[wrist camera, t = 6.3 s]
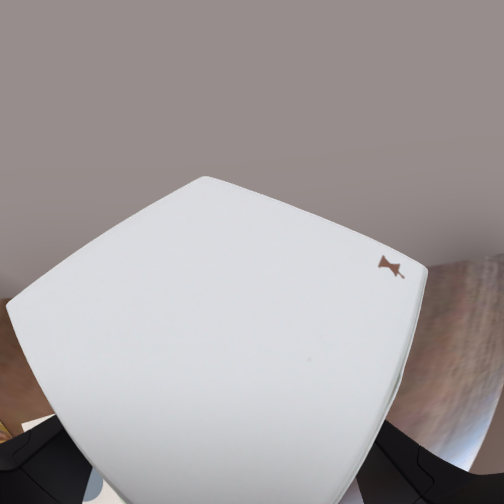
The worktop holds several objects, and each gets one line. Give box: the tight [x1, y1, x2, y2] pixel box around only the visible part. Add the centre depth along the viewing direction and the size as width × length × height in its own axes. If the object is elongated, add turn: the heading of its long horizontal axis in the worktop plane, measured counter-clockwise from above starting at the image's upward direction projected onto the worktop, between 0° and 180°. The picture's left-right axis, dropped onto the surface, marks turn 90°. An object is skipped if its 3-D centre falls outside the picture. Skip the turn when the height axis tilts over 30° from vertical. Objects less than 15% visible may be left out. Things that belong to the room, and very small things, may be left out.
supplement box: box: [6, 176, 428, 504], centre depth 9 cm, size 7×7×13 cm
